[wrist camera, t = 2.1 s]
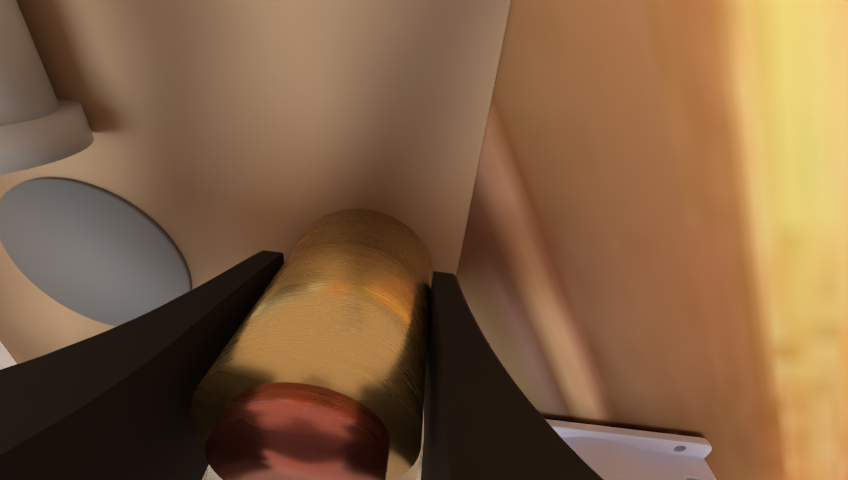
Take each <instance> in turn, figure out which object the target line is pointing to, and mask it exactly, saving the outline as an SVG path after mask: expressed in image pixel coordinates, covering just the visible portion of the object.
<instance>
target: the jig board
mask: <svg viewBox="0 0 848 480" xmlns="http://www.w3.org/2000/svg"><path fill="white" fill-rule="evenodd" d="M16 1H17V3H18V5H19V8H20V10H21V13H22V15H23V18H24V20H25V22H26V25H27V27H28V30H29V32H30V35H31V37H32V39H33V42H34V44H35V47H36V49H37V52H38V54H39V56H40V59H41V61H42V64H43V66H44V69H45V71H46V73H47V76H48V78H49V81H50V83H51V86H52V88H53V90H54V93H55V95H56V98H57V99H61V100H69V101H77V102H79V103H80V104H81V105H82V108H83V110H84V113H85V116H86V118H87V121H88V123H89V126H90V129H91V131H92V134H93V137H94V141H93V143H92V144H91V145H90V146H89V147H88V148H86V149H84V150H83V151H81V152H79V153H77V154H75V155H72V156H70V157H67V158H65V159H62V160H59V161H56V162H52V163H49V164H46V165H42V166H38V167H34V168H30V169H26V170H21V171H17V172H12V173H7V174H2V175H0V199H1V198H2V196H3V195H4V194H5V193H6V192H7V191H8V190H10V189H11V188H12V187H14V186H16V185H18V184H21V183H23V182H26V181H29V180H33V179H37V178H46V177H58V178H68V179H73V180H79V181H82V182H86V183H89V184H92V185H95V186H98V187H100V188H103V189H105V190H107V191H110V192H112V193H114V194H116V195H118V196H120V197H121V198H123V199H125V200H126V201H128V202H130V203H131V204H133V205H135V206H136V207H137V208H139V209H140V210H142V211H143V212H144V213H146V214H147V215H148V216H149V217H150V218H152V219H153V220H154V221H155V222H156V223H157V224H158V225H159V226H160V227H161V228H162V229H163V230H164V231H165V232H166V233H167V234H168V235H169V236H170V238H171V239H172V240H173V241H174V242H175V244H176V245H177V247H178V248H179V250H180V251H181V253H182V255H183V257H184V259H185V261H186V263H187V265H188V268H189V271H190V275H191V279H192V290H193V289H195V288H196V287H198V286H200V285H202V284H204V283H205V282H207V281H209V280H211V279H212V278H214V277H216V276H218V275H220V274H221V273H223V272H225V271H227V270H228V269H230V268H232V267H233V266H235V265H237V264H239V263H240V262H242V261H244V260H246V259H247V258H249V257H251V256H253V255H255V254H257V253H259V252H261V251H263V250H265V251H273V252H281V253H283V254H284V263H285V261H286V260H287V258H288V257H289V255H290V254H291V253H292V251H293V250H294V248H295V247H296V245H297V244H298V243H299V241H300V240H301V238H302V237H303V235H304V234H305V233H306V231H307V230H308V229H309V227H310V226H312V225H313V224H314V223H315V222H316V221H317V220H319V219H320V218H322V217H324V216H326V215H328V214H330V213H333V212H336V211H340V210H346V209H368V210H373V211H378V212H381V213H384V214H387V215H389V216H391V217H394V218H396V219H397V220H399V221H401V222H403V223H404V224H405V225H407V226H408V227H409V228H410V229H411V230H413V231H414V232H415V233H416V234H417V236H418V237H419V238H420V239H421V241H422V242H423V244H424V245H425V247H426V249H427V251H428V254H429V257H430V260H431V267H432V275H431V283H432V277H433V271H436V272H444V273H452V274H454V275H455V276H456V274H457V269H458V264H459V259H460V254H461V249H462V244H463V239H464V234H465V229H466V224H467V219H468V214H469V209H470V204H471V199H472V194H473V189H474V184H475V179H476V174H477V169H478V164H479V159H480V154H481V149H482V144H483V139H484V134H485V129H486V123H487V118H488V113H489V108H490V103H491V98H492V93H493V88H494V83H495V78H496V73H497V68H498V63H499V58H500V53H501V48H502V43H503V38H504V33H505V28H506V23H507V18H508V13H509V8H510V3H511V0H16ZM114 327H116V326H112V325H108V324H104V323H101V322H98V321H95V320H92V319H90V318H87V317H85V316H82V315H80V314H78V313H76V312H74V311H72V310H70V309H68V308H67V307H65V306H63V305H61V304H60V303H58V302H57V301H55V300H54V299H52V298H51V297H49V296H48V295H47V294H45V293H44V292H43V291H41V290H40V289H39V288H38V287H37V286H35V285H34V284H33V283H32V282H31V281H30V280H29V279H28V278H27V277H26V276H25V275H24V274H23V273H22V272H21V271H20V270H19V269H18V267H17V266H16V265H15V264H14V262H13V261H12V260H11V258H10V257H9V255H8V254H7V252H6V250H5V248H4V247H3V245H2V243H1V240H0V341H1V342H2V344H3V345H4V346H5V348H6V349H7V350H8V352H9V353H10V355H11V356H12V357H13V359H14V360H15V361H16V363H17V364H20V363H22V362H25V361H28V360H31V359H34V358H37V357H40V356H43V355H45V354H48V353H51V352H53V351H56V350H58V349H61V348H64V347H66V346H69V345H72V344H74V343H77V342H80V341H82V340H85V339H87V338H90V337H93V336H95V335H98V334H100V333H103V332H105V331H107V330H110V329H112V328H114ZM423 441H424V410H423V426H422V443H421V451H422V446H423ZM421 451H420V454H419V457H418V459H417V460H416V462H415V464H414V465H413V466H412V467H411V468H410V469H409V470H408V471H407V472H406V473H404V474H403V475H402V476H400V477H399V478H397V479H395V480H416V476H417V471H418V466H419V461H420V456H421Z"/></svg>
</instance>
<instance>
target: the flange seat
mask: <svg viewBox="0 0 848 480" xmlns="http://www.w3.org/2000/svg"><path fill="white" fill-rule="evenodd" d="M0 240H1V243H2V245H3V247H4V248H5V250H6V252H7V254H8V255H9V257H10V258H11V260H12V261H13V262H14V264H15V265H16V266H17V267H18V269H19V270H20V271H21V272H22V273H23V274H24V275H25V276H26V277H27V278H28V279H29V280H30V281H31V282H32V283H33V284H34V285H35V286H37V287H38V288H39V289H40V290H41V291H43V292H44V293H45V294H47V295H48V296H49V297H51V298H52V299H54V300H55V301H57V302H58V303H60V304H61V305H63V306H65V307H67V308H68V309H70V310H72V311H74V312H76V313H78V314H80V315H82V316H85V317H87V318H90V319H92V320H95V321H98V322H101V323H104V324H108V325H112V326H116V327H117V326H119V325H121V324H124V323H126V322H128V321H130V320H133V319H135V318H137V317H139V316H141V315H143V314H146V313H148V312H150V311H152V310H154V309H156V308H158V307H160V306H162V305H164V304H166V303H168V302H170V301H172V300H173V299H175V298H177V297H179V296H181V295H183V294H185V293H187V292H189V291H191V290H192V279H191V275H190V271H189V268H188V265H187V263H186V261H185V259H184V257H183V255H182V253H181V251H180V250H179V248H178V247H177V245H176V244H175V242H174V241H173V240H172V239H171V238H170V236H169V235H168V234H167V233H166V232H165V231H164V230H163V229H162V228H161V227H160V226H159V225H158V224H157V223H156V222H155V221H154V220H153V219H152V218H150V217H149V216H148V215H147V214H146V213H144V212H143V211H142V210H140V209H139V208H137V207H136V206H135V205H133V204H131V203H130V202H128V201H126V200H125V199H123V198H121V197H120V196H118V195H116V194H114V193H112V192H110V191H107V190H105V189H103V188H100V187H98V186H95V185H92V184H89V183H86V182H82V181H79V180H73V179H68V178H58V177H46V178H37V179H33V180H29V181H26V182H23V183H21V184H18V185H16V186H14V187H12V188H11V189H10V190H8V191H7V192H6V193H5V194H4V195H3V196H2V198H1V199H0Z"/></svg>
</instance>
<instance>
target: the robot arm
mask: <svg viewBox="0 0 848 480" xmlns="http://www.w3.org/2000/svg"><path fill="white" fill-rule="evenodd" d="M283 264H284V254H283V253H281V252H273V251H265V250H263V251H261V252H259V253H257V254H255V255H253V256H251V257H249V258H247V259H246V260H244V261H242V262H240V263H239V264H237V265H235V266H233V267H232V268H230V269H228V270H227V271H225V272H223V273H221V274H220V275H218V276H216V277H214V278H212V279H211V280H209V281H207V282H205V283H204V284H202V285H200V286H198V287H196V288H195V289H193V290H191V291H189V292H187V293H185V294H183V295H181V296H179V297H177V298H175V299H173V300H172V301H170V302H168V303H166V304H164V305H162V306H160V307H158V308H156V309H154V310H152V311H150V312H148V313H146V314H143V315H141V316H139V317H137V318H135V319H133V320H130V321H128V322H126V323H124V324H121V325H119V326H117V327H114V328H112V329H110V330H107V331H105V332H103V333H100V334H98V335H95V336H93V337H90V338H87V339H85V340H82V341H80V342H77V343H74V344H72V345H69V346H66V347H64V348H61V349H58V350H56V351H53V352H51V353H48V354H45V355H43V356H40V357H37V358H34V359H31V360H28V361H25V362H22V363H20V364H17V365H14V366H11V367H8V368H5V369H2V370H0V480H202V478H203V476H204V474H205V471H206V469H207V467H208V465H209V463H208V461H207V459H206V455H205V443H206V441H205V440H204V438H203V437H202V436H201V434H200V433H199V432H198V430H197V428H196V426H195V424H194V421H193V418H192V414H191V401H192V396H193V394H194V392H195V390H196V388H197V387H198V385H199V384H200V382H201V381H202V379H203V378H204V377H205V375H206V374H207V372H208V371H209V369H210V368H211V367H212V365H213V364H214V362H215V361H216V360H217V358H218V357H219V355H220V354H221V352H222V351H223V350H224V348H225V347H226V345H227V344H228V342H229V341H230V340H231V338H232V337H233V335H234V334H235V332H236V331H237V330H238V328H239V327H240V325H241V324H242V322H243V321H244V320H245V318H246V317H247V315H248V314H249V312H250V311H251V310H252V308H253V307H254V305H255V304H256V302H257V301H258V300H259V298H260V297H261V295H262V294H263V292H264V291H265V290H266V288H267V287H268V285H269V284H270V283H271V281H272V280H273V278H274V277H275V275H276V274H277V273H278V271H279V270H280V268H281V267H282V265H283ZM711 450H712V447H711V445H710V444H709V442H708V440H706V439H705V438H701V437H693V436H684V435H676V434H668V433H659V432H651V431H642V430H634V429H625V428H617V427H608V426H600V425H591V424H583V423H574V422H566V421H558V420H549V419H544V417H543V416H542V415H541V414H540V413H539V412H538V411H537V409H536V408H535V407H534V406H533V405H532V404H531V403H530V401H529V400H528V399H527V397H526V396H525V395H524V394H523V392H522V391H521V390H520V388H519V387H518V386H517V385H516V383H515V382H514V381H513V379H512V378H511V376H510V375H509V374H508V372H507V371H506V370H505V368H504V367H503V365H502V364H501V362H500V361H499V359H498V358H497V356H496V355H495V353H494V352H493V350H492V348H491V347H490V345H489V343H488V342H487V340H486V338H485V337H484V335H483V333H482V331H481V330H480V328H479V326H478V324H477V322H476V320H475V318H474V316H473V315H472V313H471V311H470V309H469V307H468V304H467V302H466V300H465V298H464V296H463V293H462V291H461V288H460V286H459V283H458V280H457V277H456V276H455V275H454V274H452V273H444V272H436V271H433V277H432V283H431V290H430V306H429V325H428V342H427V359H426V376H425V393H424V444H423V458H422V473H421V480H717V479H716V478H715V476H714V474H713V473H712V471H711V469H710V468H709V466H708V464H707V463H706V461H705V459H704V458H705V457H706V456H707V455H708V454H709V453H710V452H711Z"/></svg>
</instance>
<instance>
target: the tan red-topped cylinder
mask: <svg viewBox="0 0 848 480" xmlns="http://www.w3.org/2000/svg"><path fill="white" fill-rule="evenodd" d="M431 275H432V267H431V260H430V257H429V254H428V251H427V249H426V247H425V245H424V244H423V242H422V241H421V239H420V238H419V237H418V236H417V234H416V233H415V232H414V231H413V230H411V229H410V228H409V227H408V226H407V225H405V224H404V223H403V222H401V221H399V220H397V219H396V218H394V217H391V216H389V215H387V214H384V213H381V212H378V211H373V210H368V209H346V210H340V211H336V212H333V213H330V214H328V215H326V216H324V217H322V218H320V219H319V220H317V221H316V222H315V223H314V224H313V225H312V226H310V227H309V229H308V230H307V231H306V233H305V234H304V235H303V237H302V238H301V240H300V241H299V243H298V244H297V245H296V247H295V248H294V250H293V251H292V253H291V254H290V255H289V257H288V258H287V260H286V261H285V263H284V264H283V265H282V267H281V268H280V270H279V271H278V273H277V274H276V275H275V277H274V278H273V280H272V281H271V283H270V284H269V285H268V287H267V288H266V290H265V291H264V292H263V294H262V295H261V297H260V298H259V300H258V301H257V302H256V304H255V305H254V307H253V308H252V310H251V311H250V312H249V314H248V315H247V317H246V318H245V320H244V321H243V322H242V324H241V325H240V327H239V328H238V330H237V331H236V332H235V334H234V335H233V337H232V338H231V340H230V341H229V342H228V344H227V345H226V347H225V348H224V350H223V351H222V352H221V354H220V355H219V357H218V358H217V360H216V361H215V362H214V364H213V365H212V367H211V368H210V369H209V371H208V372H207V374H206V375H205V377H204V378H203V379H202V381H201V382H200V384H199V385H198V387H197V388H196V390H195V392H194V394H193V396H192V401H191V414H192V418H193V421H194V424H195V426H196V428H197V430H198V432H199V433H200V434H201V436H202V437H203V438H204V440H205V441H206V443H205V455H206V459H207V461H208V463H209V465H210V466H211V468H212V469H213V470H214V471H215V472H216V473H217V474H218V475H219V476H220V477H221V478H222V479H223V480H395V479H397V478H399V477H400V476H402V475H403V474H404V473H406V472H407V471H408V470H409V469H410V468H411V467H412V466H413V465H414V464H415V462H416V460H417V459H418V457H419V454H420V451H421V443H422V426H423V410H424V393H425V376H426V359H427V342H428V325H429V306H430V290H431Z"/></svg>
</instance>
